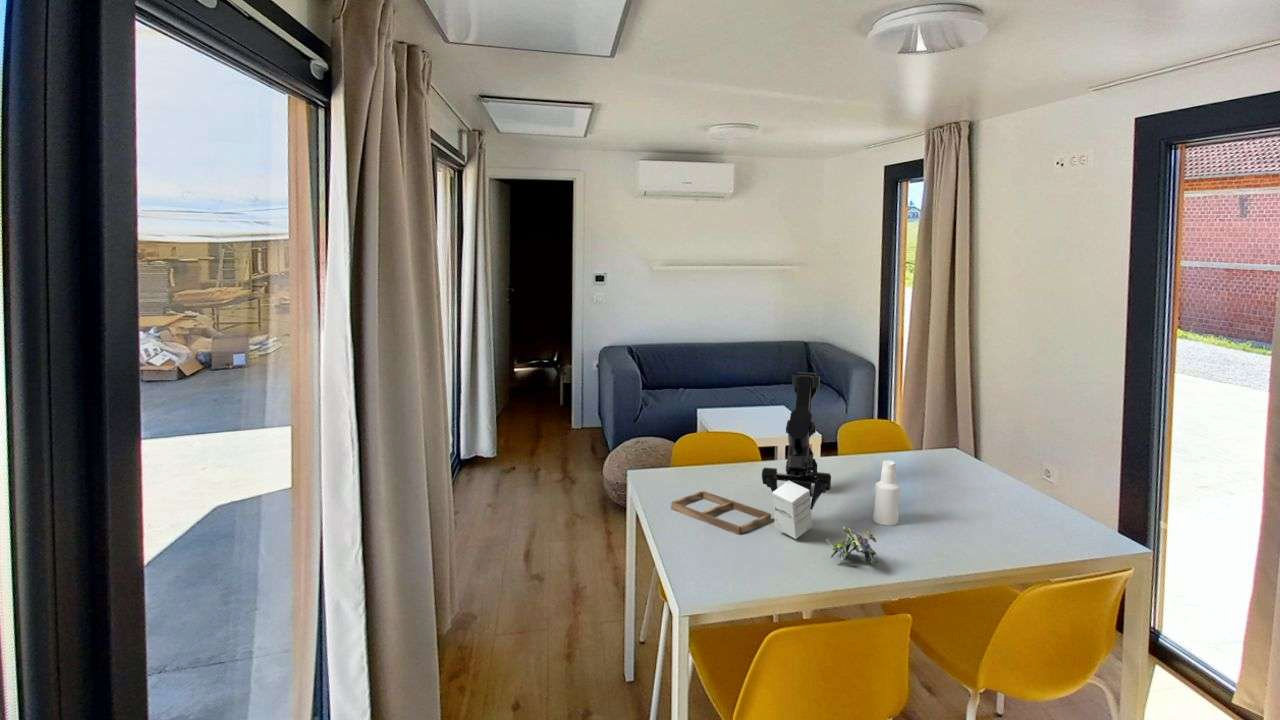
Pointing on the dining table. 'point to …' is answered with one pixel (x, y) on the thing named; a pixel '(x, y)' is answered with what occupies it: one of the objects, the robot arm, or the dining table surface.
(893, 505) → the spray bottle
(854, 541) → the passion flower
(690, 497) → the wooden compartment frame
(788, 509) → the supplement box
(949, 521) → the dining table surface
